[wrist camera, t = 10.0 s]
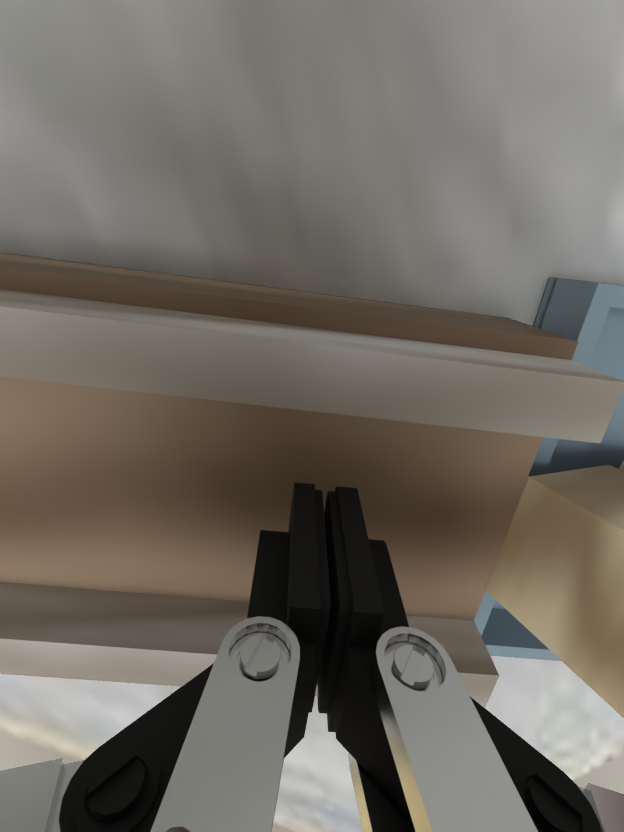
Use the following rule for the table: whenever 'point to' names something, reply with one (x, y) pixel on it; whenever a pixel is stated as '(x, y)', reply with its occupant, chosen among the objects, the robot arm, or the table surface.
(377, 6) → the table surface
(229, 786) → the robot arm
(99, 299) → the brown wooden channel
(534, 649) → the slate tray
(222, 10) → the table surface
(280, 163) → the table surface
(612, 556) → the tan wooden cube
